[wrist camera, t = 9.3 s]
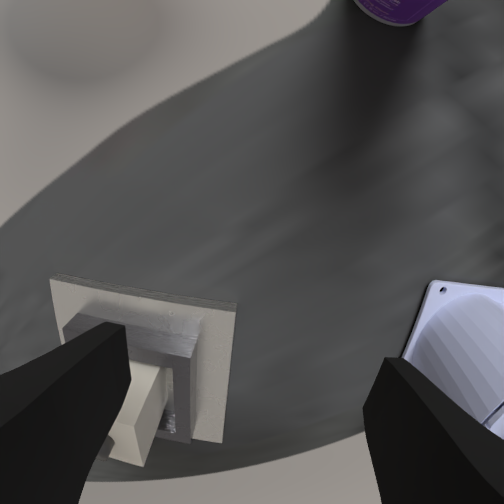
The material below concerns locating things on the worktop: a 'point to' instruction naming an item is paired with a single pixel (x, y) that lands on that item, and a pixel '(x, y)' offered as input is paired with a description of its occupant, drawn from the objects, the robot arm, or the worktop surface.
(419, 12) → the container
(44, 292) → the worktop surface
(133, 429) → the plug
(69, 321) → the socket plate
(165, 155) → the worktop surface
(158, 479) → the worktop surface
